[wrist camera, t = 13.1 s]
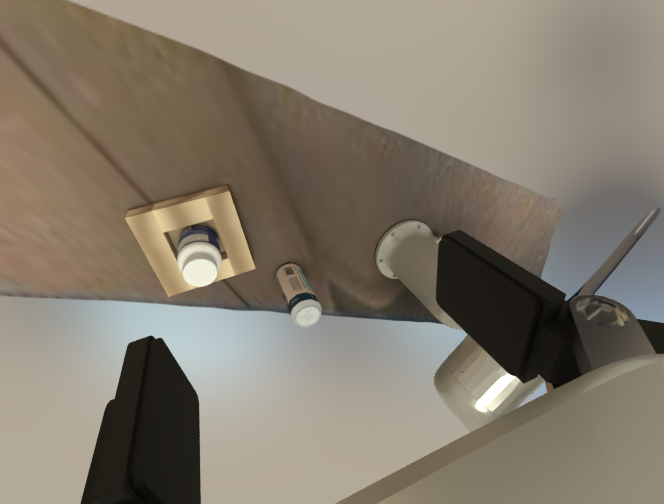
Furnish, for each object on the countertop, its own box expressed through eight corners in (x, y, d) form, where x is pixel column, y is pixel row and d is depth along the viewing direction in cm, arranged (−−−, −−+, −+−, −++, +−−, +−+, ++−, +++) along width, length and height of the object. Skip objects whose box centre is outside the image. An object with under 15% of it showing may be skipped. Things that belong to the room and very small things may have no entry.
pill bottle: (220, 252, 49) (225, 288, 41) (181, 256, 47) (179, 295, 39) (216, 220, 46) (221, 251, 38) (175, 223, 44) (172, 257, 36)
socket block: (227, 184, 45) (229, 191, 42) (252, 259, 52) (255, 268, 49) (128, 209, 42) (124, 218, 39) (169, 285, 49) (168, 296, 46)
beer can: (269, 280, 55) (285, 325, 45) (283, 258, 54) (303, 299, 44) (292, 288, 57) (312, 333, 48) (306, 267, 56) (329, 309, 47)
